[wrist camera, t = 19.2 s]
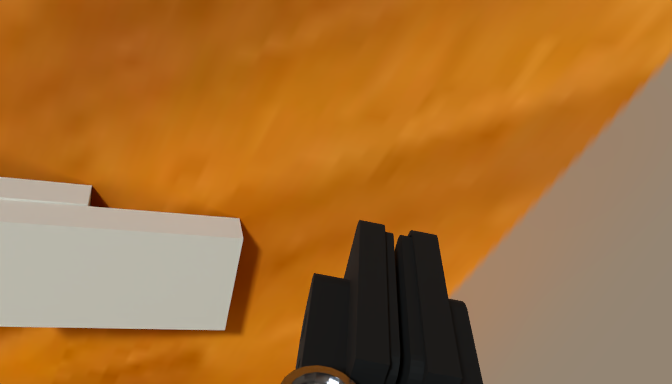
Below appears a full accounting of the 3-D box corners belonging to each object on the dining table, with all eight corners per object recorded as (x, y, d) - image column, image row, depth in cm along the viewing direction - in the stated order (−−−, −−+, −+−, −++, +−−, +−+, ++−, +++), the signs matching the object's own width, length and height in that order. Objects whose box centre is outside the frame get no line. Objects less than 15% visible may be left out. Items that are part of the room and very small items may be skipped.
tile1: (243, 238, 24) (-33, 219, 21) (224, 330, 26) (-28, 325, 23) (239, 218, 26) (-20, 197, 22) (222, 307, 28) (-17, 300, 24)
